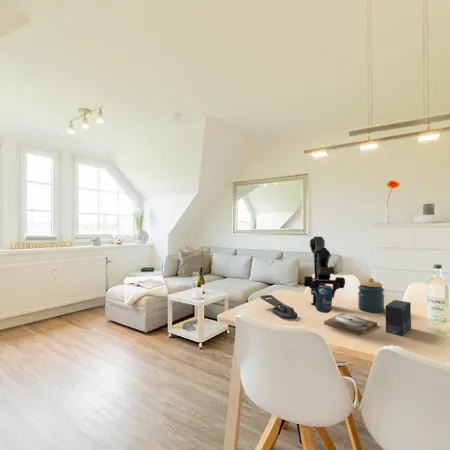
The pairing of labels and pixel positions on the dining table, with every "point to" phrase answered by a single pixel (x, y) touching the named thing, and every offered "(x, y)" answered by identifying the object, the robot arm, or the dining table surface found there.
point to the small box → (398, 317)
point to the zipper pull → (280, 308)
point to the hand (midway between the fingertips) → (325, 297)
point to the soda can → (324, 298)
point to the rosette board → (351, 323)
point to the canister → (371, 296)
